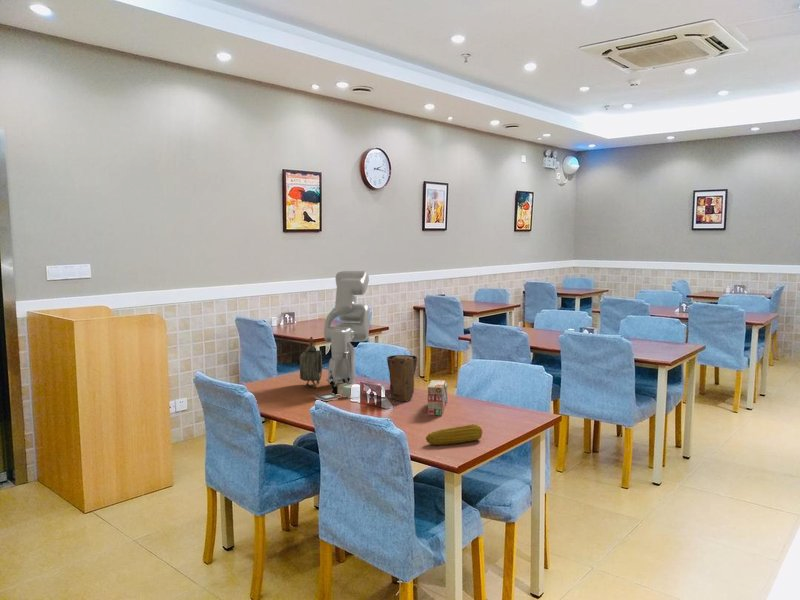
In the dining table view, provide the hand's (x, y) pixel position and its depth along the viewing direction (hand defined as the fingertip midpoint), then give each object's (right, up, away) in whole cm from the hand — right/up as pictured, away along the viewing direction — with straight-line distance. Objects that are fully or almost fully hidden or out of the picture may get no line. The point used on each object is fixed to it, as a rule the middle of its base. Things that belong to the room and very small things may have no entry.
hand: (339, 392), depth 278 cm
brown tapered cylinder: (+29, -2, -11) cm, 31 cm away
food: (+48, -7, -71) cm, 86 cm away
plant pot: (+30, 0, +8) cm, 31 cm away
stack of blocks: (+45, -3, -27) cm, 52 cm away
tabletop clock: (-16, +1, +15) cm, 22 cm away
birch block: (0, -1, 0) cm, 1 cm away
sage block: (+5, -1, -6) cm, 8 cm away
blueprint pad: (-5, -1, -10) cm, 11 cm away
